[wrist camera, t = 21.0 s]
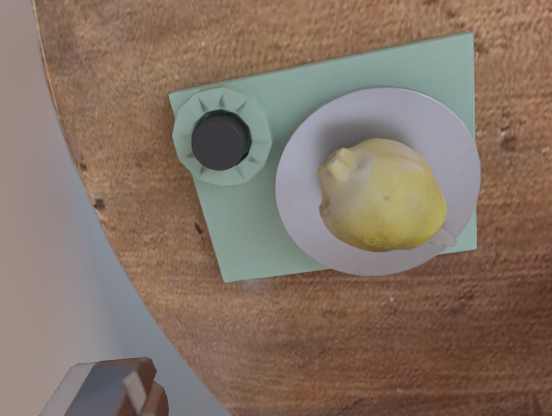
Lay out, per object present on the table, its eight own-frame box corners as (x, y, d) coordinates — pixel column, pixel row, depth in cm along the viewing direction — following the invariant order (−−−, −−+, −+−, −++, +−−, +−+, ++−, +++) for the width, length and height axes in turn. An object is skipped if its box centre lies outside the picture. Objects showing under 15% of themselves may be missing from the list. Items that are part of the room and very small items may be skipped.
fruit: (416, 269, 27) (280, 206, 25) (463, 185, 27) (328, 111, 24) (473, 310, 22) (307, 235, 19) (534, 206, 21) (370, 113, 18)
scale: (227, 272, 33) (219, 296, 30) (173, 90, 27) (159, 99, 25) (470, 239, 30) (485, 262, 28) (465, 31, 25) (484, 33, 22)
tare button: (205, 165, 27) (199, 175, 25) (192, 118, 25) (184, 125, 24) (252, 157, 26) (248, 166, 25) (240, 109, 25) (236, 115, 23)
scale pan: (294, 280, 29) (294, 287, 28) (256, 107, 24) (255, 109, 24) (477, 256, 27) (482, 263, 27) (475, 65, 23) (480, 66, 22)
